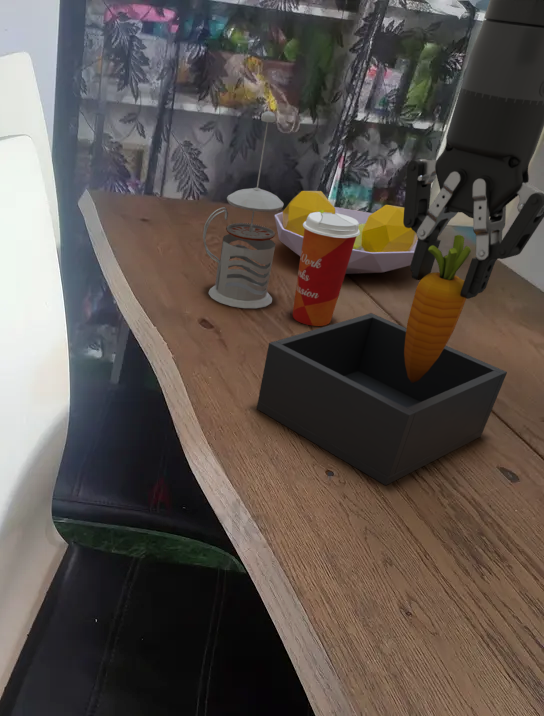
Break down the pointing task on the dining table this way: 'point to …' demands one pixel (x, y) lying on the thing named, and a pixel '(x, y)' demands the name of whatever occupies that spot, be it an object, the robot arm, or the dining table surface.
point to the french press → (238, 283)
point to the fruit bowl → (372, 246)
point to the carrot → (434, 310)
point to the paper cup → (323, 265)
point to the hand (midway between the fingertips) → (443, 286)
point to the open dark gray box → (376, 396)
